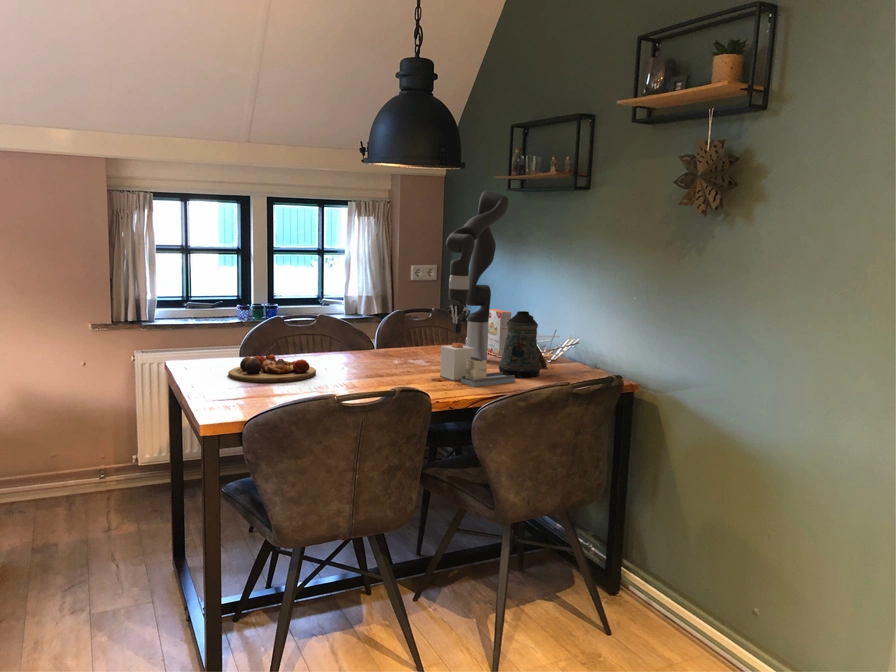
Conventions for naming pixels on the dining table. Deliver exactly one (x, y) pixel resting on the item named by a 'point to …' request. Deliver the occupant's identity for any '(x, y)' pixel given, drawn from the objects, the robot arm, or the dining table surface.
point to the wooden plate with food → (271, 370)
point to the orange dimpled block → (457, 345)
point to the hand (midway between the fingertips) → (457, 333)
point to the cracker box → (497, 330)
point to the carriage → (476, 368)
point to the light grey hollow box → (454, 362)
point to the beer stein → (521, 347)
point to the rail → (489, 379)
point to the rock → (541, 359)
